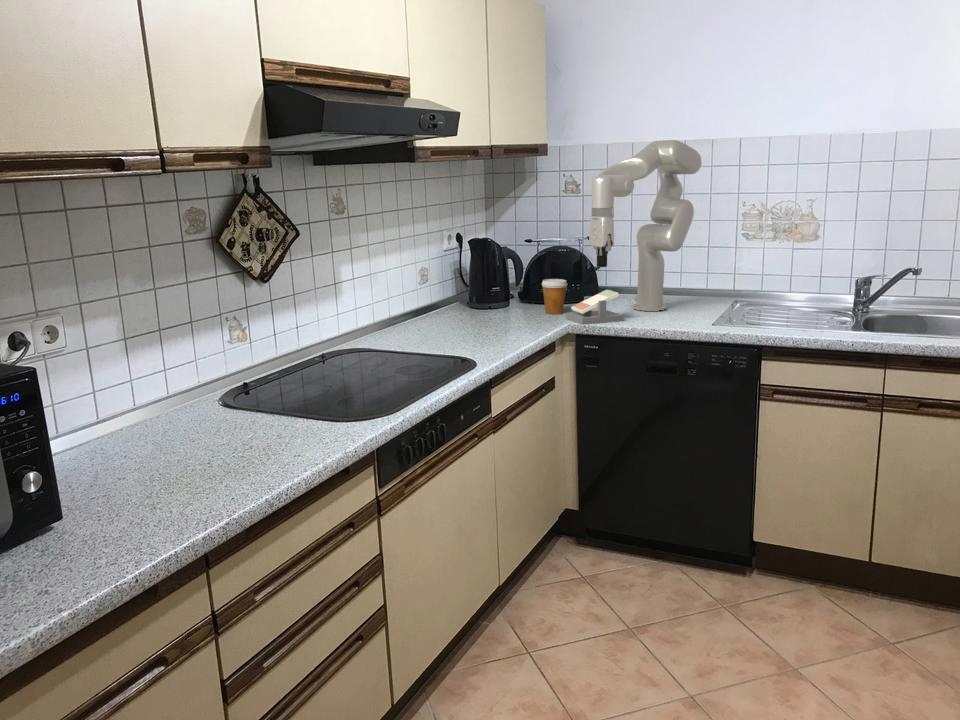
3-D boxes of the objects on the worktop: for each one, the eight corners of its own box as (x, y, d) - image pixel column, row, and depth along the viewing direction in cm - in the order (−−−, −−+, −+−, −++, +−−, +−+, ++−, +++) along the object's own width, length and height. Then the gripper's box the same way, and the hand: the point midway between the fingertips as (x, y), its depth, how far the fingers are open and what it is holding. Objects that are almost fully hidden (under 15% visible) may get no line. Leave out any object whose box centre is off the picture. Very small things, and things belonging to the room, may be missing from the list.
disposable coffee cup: (571, 312, 290) (572, 279, 287) (559, 316, 282) (560, 282, 279) (548, 309, 295) (548, 278, 292) (536, 313, 287) (536, 281, 284)
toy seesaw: (566, 318, 277) (566, 297, 275) (606, 315, 282) (606, 294, 281) (582, 324, 266) (582, 302, 264) (623, 321, 272) (624, 299, 270)
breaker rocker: (571, 309, 275) (570, 306, 275) (607, 292, 279) (606, 289, 278) (583, 313, 267) (581, 310, 267) (619, 295, 271) (618, 292, 270)
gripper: (582, 212, 272) (582, 265, 277) (603, 215, 258) (602, 270, 263) (601, 211, 274) (601, 263, 279) (623, 213, 261) (622, 268, 265)
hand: (601, 266), depth 271 cm, fingers closed
